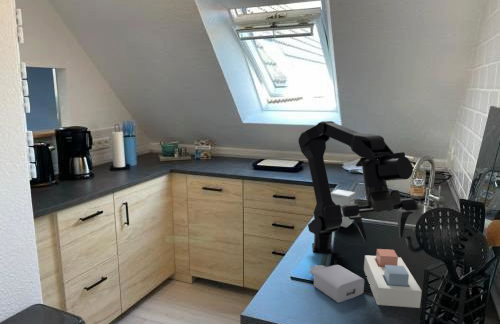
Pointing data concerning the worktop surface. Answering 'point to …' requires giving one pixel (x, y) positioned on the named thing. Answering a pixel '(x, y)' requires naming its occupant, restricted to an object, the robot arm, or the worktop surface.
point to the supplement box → (343, 203)
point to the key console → (391, 293)
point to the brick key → (386, 257)
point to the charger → (337, 282)
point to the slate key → (396, 276)
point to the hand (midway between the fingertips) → (383, 239)
